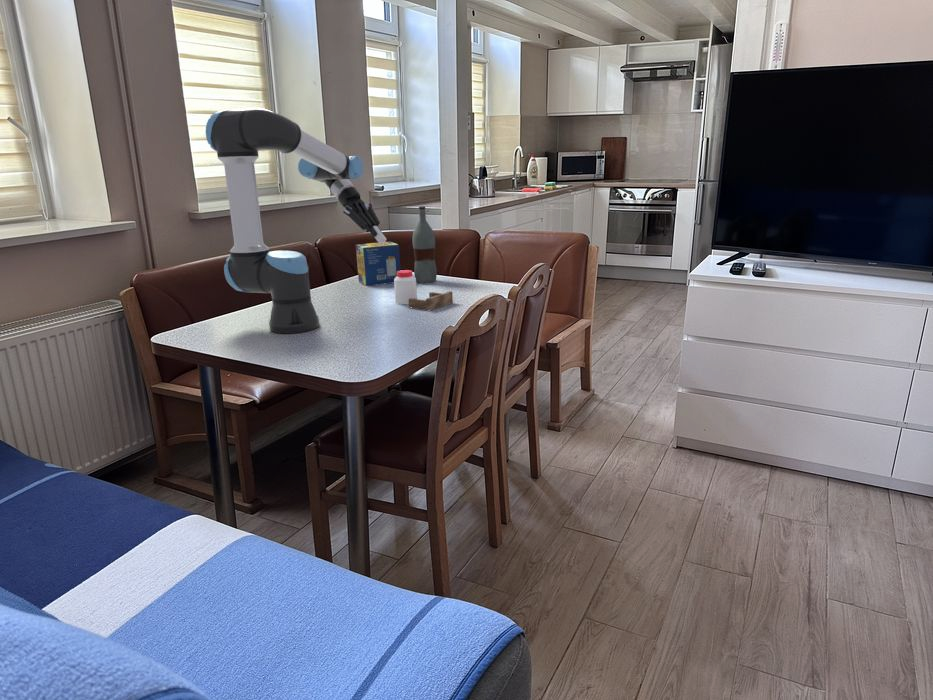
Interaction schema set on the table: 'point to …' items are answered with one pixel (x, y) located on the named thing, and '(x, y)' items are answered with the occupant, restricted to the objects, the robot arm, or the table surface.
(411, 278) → the pill bottle
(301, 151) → the robot arm
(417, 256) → the grey-green bottle
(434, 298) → the dock
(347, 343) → the table surface
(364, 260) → the protein box
